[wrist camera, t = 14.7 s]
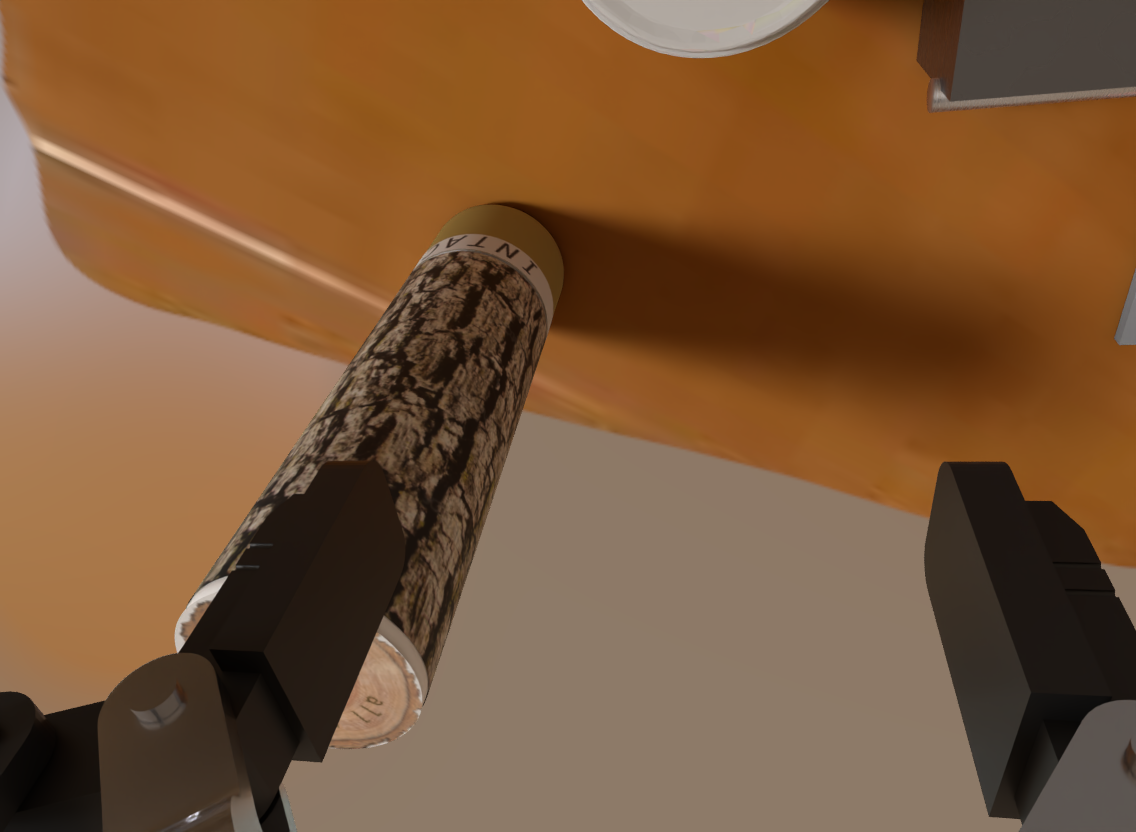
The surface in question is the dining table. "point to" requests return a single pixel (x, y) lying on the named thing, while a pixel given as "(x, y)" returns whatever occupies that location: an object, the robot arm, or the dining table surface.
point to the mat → (1128, 318)
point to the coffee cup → (703, 23)
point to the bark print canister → (425, 441)
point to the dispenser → (1026, 52)
